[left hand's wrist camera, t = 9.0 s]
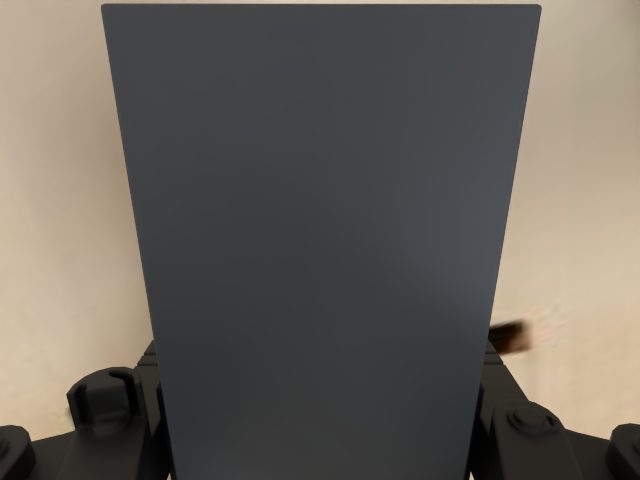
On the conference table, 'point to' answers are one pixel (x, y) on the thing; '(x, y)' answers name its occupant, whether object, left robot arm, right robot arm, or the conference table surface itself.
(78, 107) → the conference table surface
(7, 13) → the conference table surface
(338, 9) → the beam
